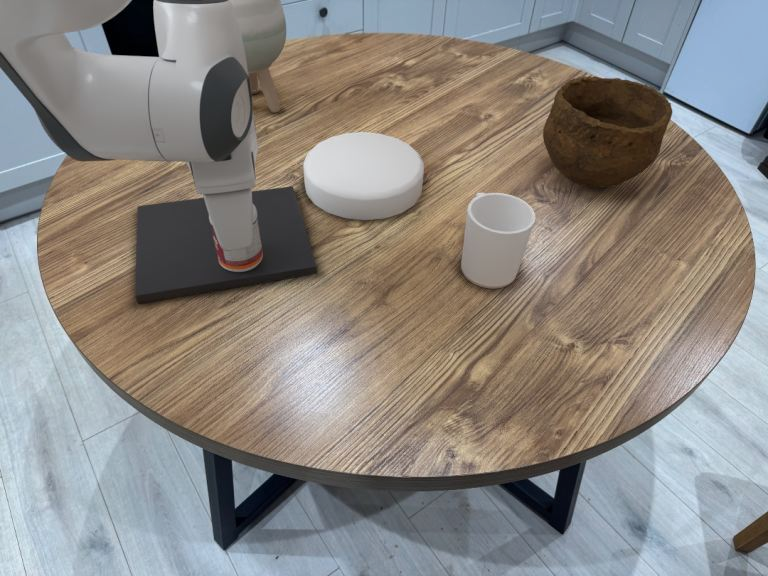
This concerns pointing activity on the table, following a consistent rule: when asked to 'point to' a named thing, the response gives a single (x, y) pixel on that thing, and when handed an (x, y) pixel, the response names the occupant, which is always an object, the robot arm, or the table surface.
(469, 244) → the mug
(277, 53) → the planter
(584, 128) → the bowl
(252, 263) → the pill bottle
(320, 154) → the container
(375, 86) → the table surface
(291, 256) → the board
